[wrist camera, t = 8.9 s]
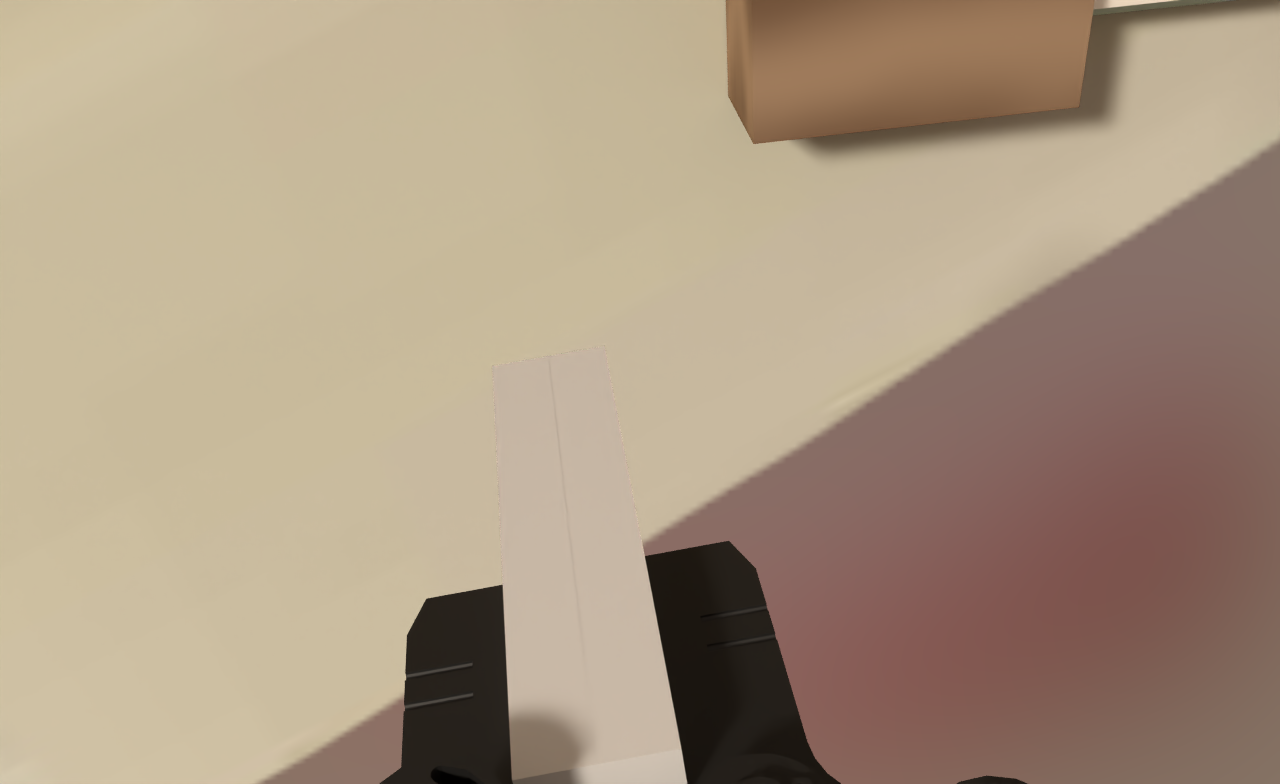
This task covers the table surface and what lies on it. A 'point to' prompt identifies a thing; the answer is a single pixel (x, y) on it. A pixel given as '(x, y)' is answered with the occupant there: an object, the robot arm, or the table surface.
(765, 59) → the brown flat block
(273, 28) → the table surface
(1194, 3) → the mat
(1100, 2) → the tile
